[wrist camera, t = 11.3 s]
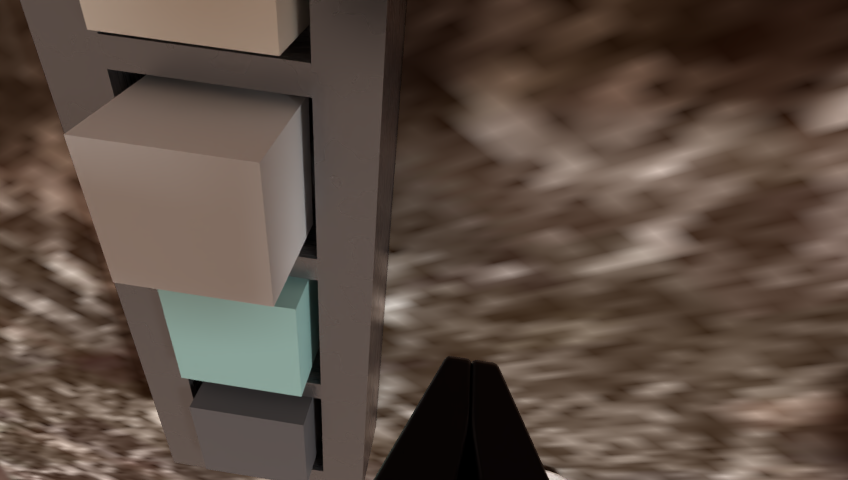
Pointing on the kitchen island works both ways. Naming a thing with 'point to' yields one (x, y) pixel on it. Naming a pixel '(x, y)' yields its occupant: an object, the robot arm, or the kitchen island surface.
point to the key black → (257, 431)
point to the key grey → (198, 186)
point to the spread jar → (554, 476)
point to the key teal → (246, 338)
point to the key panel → (331, 192)
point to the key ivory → (204, 21)
